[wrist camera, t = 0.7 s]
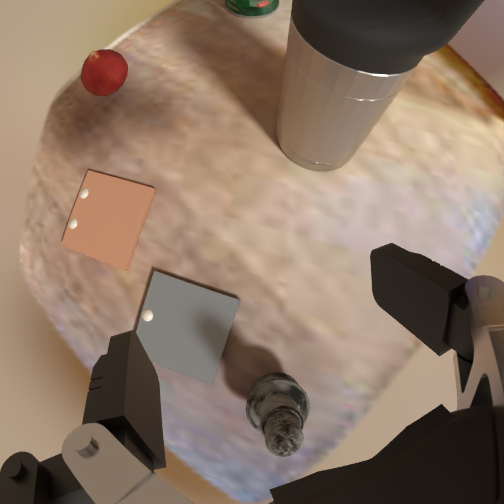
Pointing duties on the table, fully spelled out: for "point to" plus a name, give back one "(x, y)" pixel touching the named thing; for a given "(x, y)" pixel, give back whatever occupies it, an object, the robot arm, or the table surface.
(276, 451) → the salt shaker
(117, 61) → the onion
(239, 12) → the canned tomato
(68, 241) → the tile two
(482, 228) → the table surface
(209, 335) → the tile one
